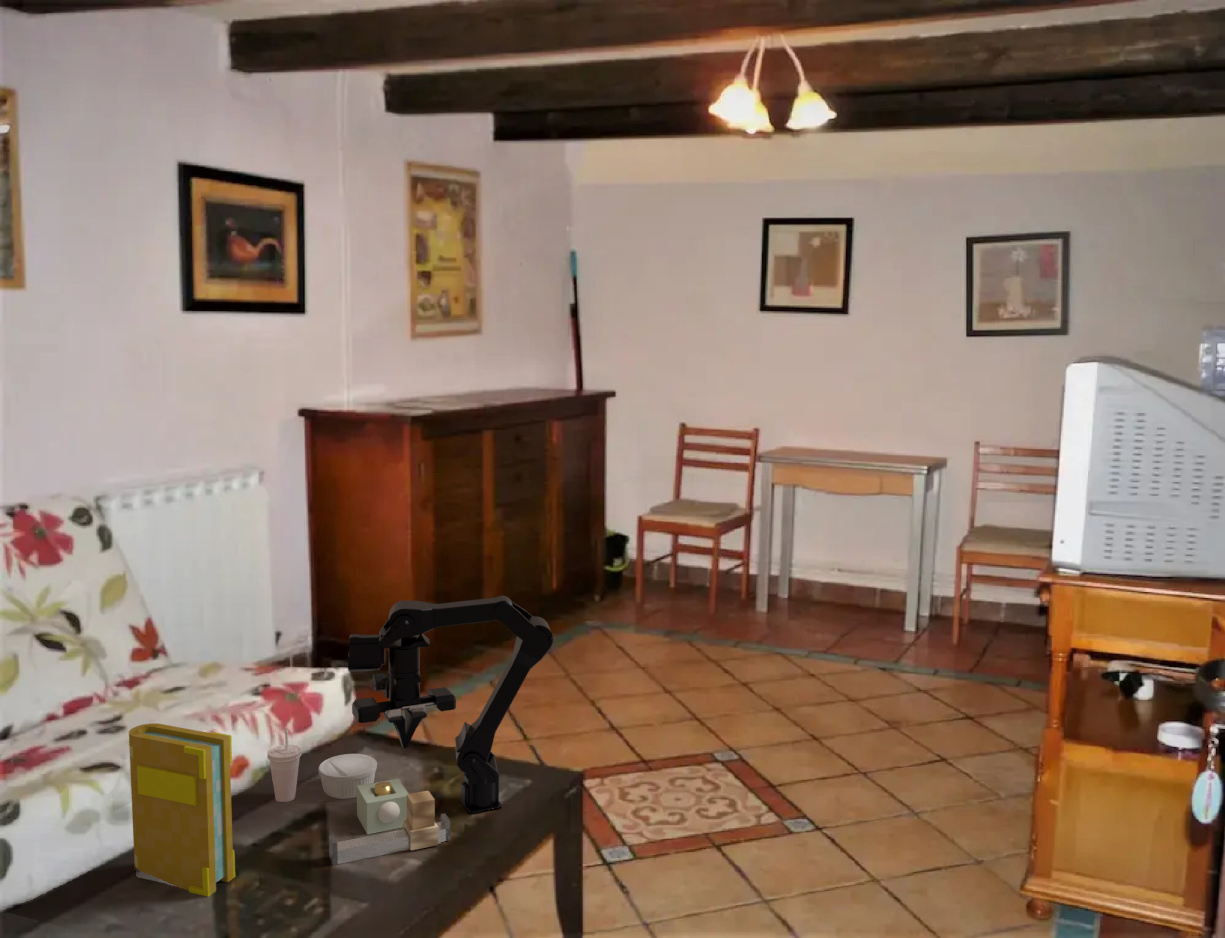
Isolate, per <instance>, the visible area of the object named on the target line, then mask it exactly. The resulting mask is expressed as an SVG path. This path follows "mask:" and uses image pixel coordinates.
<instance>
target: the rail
mask: <svg viewBox="0 0 1225 938" xmlns="http://www.w3.org/2000/svg"><path fill="white" fill-rule="evenodd" d="M435 823H436V824H437V825H438V845H439V844H442V843H441V842H444V841H449V840H450V841H451V819H450V817H448V816H447V814H446V813H445V812H444V813H441V814H440V821H439V822H435ZM450 841H449V842H450ZM444 843H445V842H444ZM409 850H410V835H409V833H408V832H407V830H406V829H403V828H401V829H396V830H392V831H389V832H388V831H386V832H382V833H377V834H372V835H371V834H370V835H367V836H362V837H357V838H353V839H347V840H342V841H341V840H340V841H337V839H336V836H335V835H334V834H331V835H328V853H329V854H328V855H329V859H330V861H331V864H332V866H337V865H340V864H341V865H342V864H345V863H352V862H355V861H360V860H366V859H370V858H375V857H380V856H383V855H390V854H393V853H400V852H404V851H409ZM410 851H411V850H410Z"/></svg>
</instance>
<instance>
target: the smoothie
mask: <svg viewBox="0 0 1225 938" xmlns="http://www.w3.org/2000/svg"><path fill="white" fill-rule="evenodd" d="M284 733H285V734H284V740H285V741H284V742H285V743H284V744H280V745H276V746H274V747H272V748H269V749H268V751H267V759H268V761H269V767H270V772H271V773H270V774H271V779H272V784H273V790H274V791H273V792H274V799H275V801H277V802H278V803H287V802H292V801H293V800H295V798H296V793H297V782H298V775H299V768H300V766H299V765H300V757H301V756H302V748H301V747H300V746H298V745H295V744H289V729H288V728H287V729H285V730H284Z"/></svg>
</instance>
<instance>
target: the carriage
mask: <svg viewBox="0 0 1225 938" xmlns="http://www.w3.org/2000/svg"><path fill="white" fill-rule="evenodd" d="M435 804H436V799H435V797H433V795H432V794H431V792H430V791H429V790H423V791H418V792H412V793H409V794H407V819H403V827H402V829H406V830H407V832H408V833H409V835H410V851H415V850H419V849H424V848H425V849H426V848H429V847H435V846H438V845H439V844H438V825H437V824H436V823H437V822H436V817H435V816H436V815H435V813H436V812H435V809H436V806H435Z"/></svg>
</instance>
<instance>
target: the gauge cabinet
mask: <svg viewBox="0 0 1225 938" xmlns="http://www.w3.org/2000/svg"><path fill="white" fill-rule="evenodd" d="M379 782H389V783H391V794H389V795H383V796H378V797H375V784H377V783H379ZM407 794H410V793H409V792H408V791H407V789H406V787H405V786H404V785H403V783H402V782H401V780H400V778H394V779H389V780H382V781H377V782H375V781H374V783H369V784H364V785H358V786H357V797H356V816H357V818H358V820H359V822H360V824H361V825H362V827H363V829H364V831H365V833H366V835H371V834H372V835H373V834H375V833H377V834H378V833H381V832H382V833H383V832H388V831H391V830H392V831H393V830H398V829H403V819H407Z"/></svg>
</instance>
